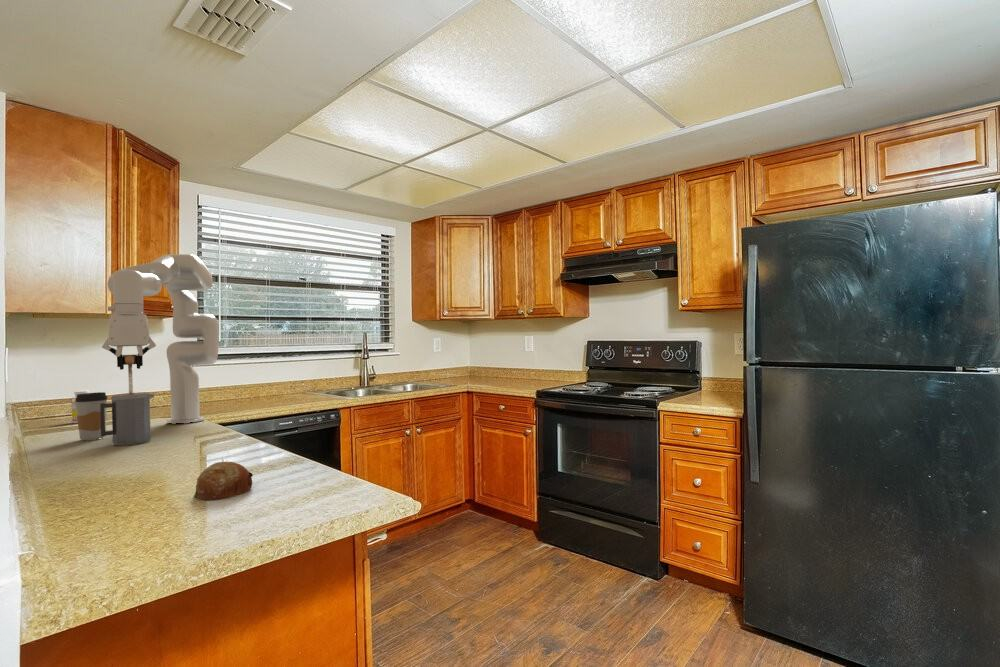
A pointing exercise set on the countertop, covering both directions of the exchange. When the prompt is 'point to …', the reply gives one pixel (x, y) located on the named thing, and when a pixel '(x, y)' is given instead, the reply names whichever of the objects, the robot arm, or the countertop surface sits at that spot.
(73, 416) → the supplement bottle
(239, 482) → the bread roll
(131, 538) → the countertop surface
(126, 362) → the plunger
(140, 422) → the french press
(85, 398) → the coffee cup
